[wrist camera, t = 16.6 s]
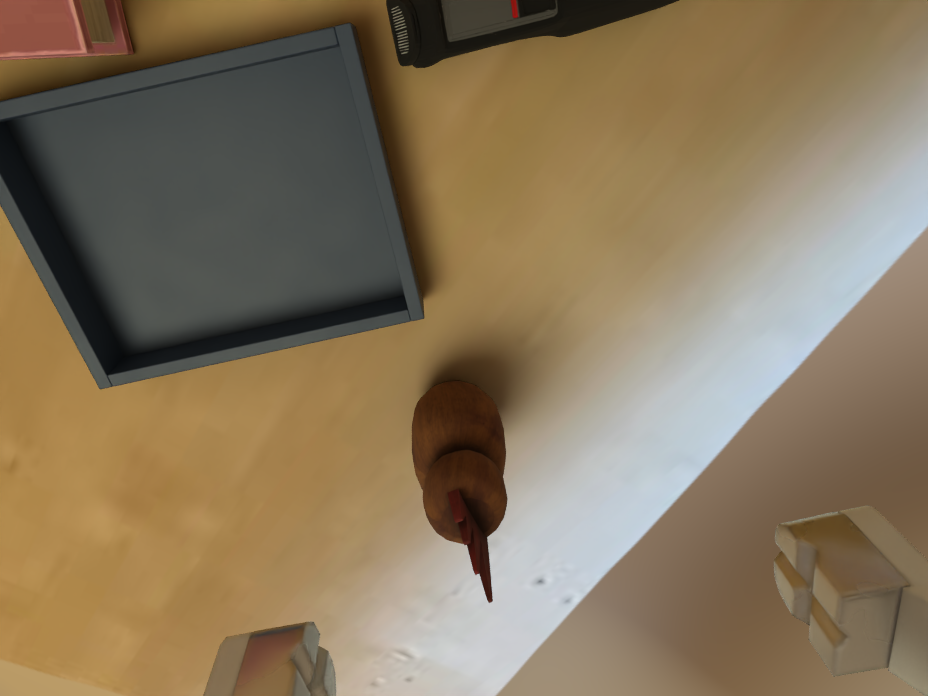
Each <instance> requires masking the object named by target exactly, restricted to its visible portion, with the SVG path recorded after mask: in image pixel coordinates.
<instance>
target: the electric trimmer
mask: <svg viewBox="0 0 928 696" xmlns="http://www.w3.org/2000/svg"><path fill="white" fill-rule="evenodd" d="M676 1H679V0H386V5H387V10H388V15H389V19H390V24H391V29H392V34H393V39H394V43H395V48H396V53H397V57H398V61H399V63H400V65H401V66H409V65H413V66H414V67H416V68H425V67H429V66H432V65H434V64H435V63H437V62H439V61H441V60H443V59H445V58H449V57H453V56H457V55H461V54H464V53H468V52H472V51H476V50H480V49H483V48H487V47H491V46H495V45H499V44H504V43H508V42H512V41H516V40H521V39H527V38H532V37H538V36H556V37H566V36H570V35H574V34H577V33H581V32H584V31H587V30H590V29H594V28H597V27H600V26H603V25H606V24H610V23H613V22H616V21H619V20H622V19H625V18H629V17H632V16H635V15H638V14H641V13H645V12H648V11H651V10H654V9H657V8H661V7H663V6H666V5H668V4H671V3H674V2H676Z"/></svg>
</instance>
